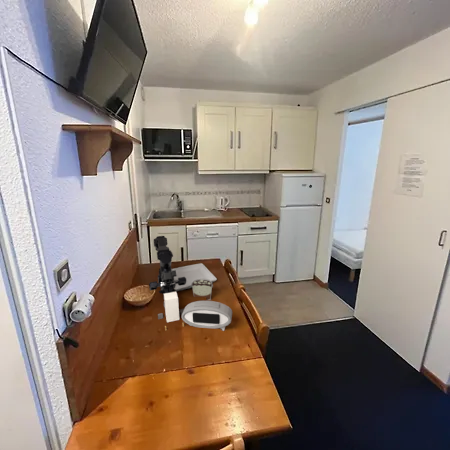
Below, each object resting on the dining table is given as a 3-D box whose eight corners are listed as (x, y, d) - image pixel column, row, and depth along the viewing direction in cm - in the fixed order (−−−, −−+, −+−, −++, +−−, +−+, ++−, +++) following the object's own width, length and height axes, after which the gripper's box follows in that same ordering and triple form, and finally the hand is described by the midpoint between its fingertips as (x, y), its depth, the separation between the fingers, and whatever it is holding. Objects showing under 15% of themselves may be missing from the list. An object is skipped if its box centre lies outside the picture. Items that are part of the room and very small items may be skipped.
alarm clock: (181, 329, 118) (180, 305, 114) (185, 320, 124) (184, 297, 120) (231, 332, 115) (231, 308, 112) (232, 323, 121) (232, 300, 118)
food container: (214, 294, 147) (214, 278, 144) (213, 300, 141) (212, 284, 138) (194, 293, 148) (193, 277, 145) (191, 298, 142) (190, 283, 139)
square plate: (164, 275, 171) (164, 270, 170) (202, 267, 182) (202, 262, 181) (175, 294, 147) (174, 288, 146) (217, 284, 159) (217, 278, 158)
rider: (165, 316, 126) (163, 293, 122) (177, 314, 128) (176, 291, 124) (167, 324, 120) (165, 300, 117) (179, 321, 122) (178, 297, 119)
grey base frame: (156, 305, 136) (156, 300, 135) (181, 301, 140) (180, 296, 139) (160, 337, 112) (160, 332, 111) (190, 331, 116) (190, 325, 115)
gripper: (147, 268, 125) (150, 299, 118) (184, 262, 131) (189, 292, 124) (148, 275, 134) (151, 304, 127) (183, 270, 140) (187, 298, 133)
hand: (170, 299), depth 127 cm, fingers closed
